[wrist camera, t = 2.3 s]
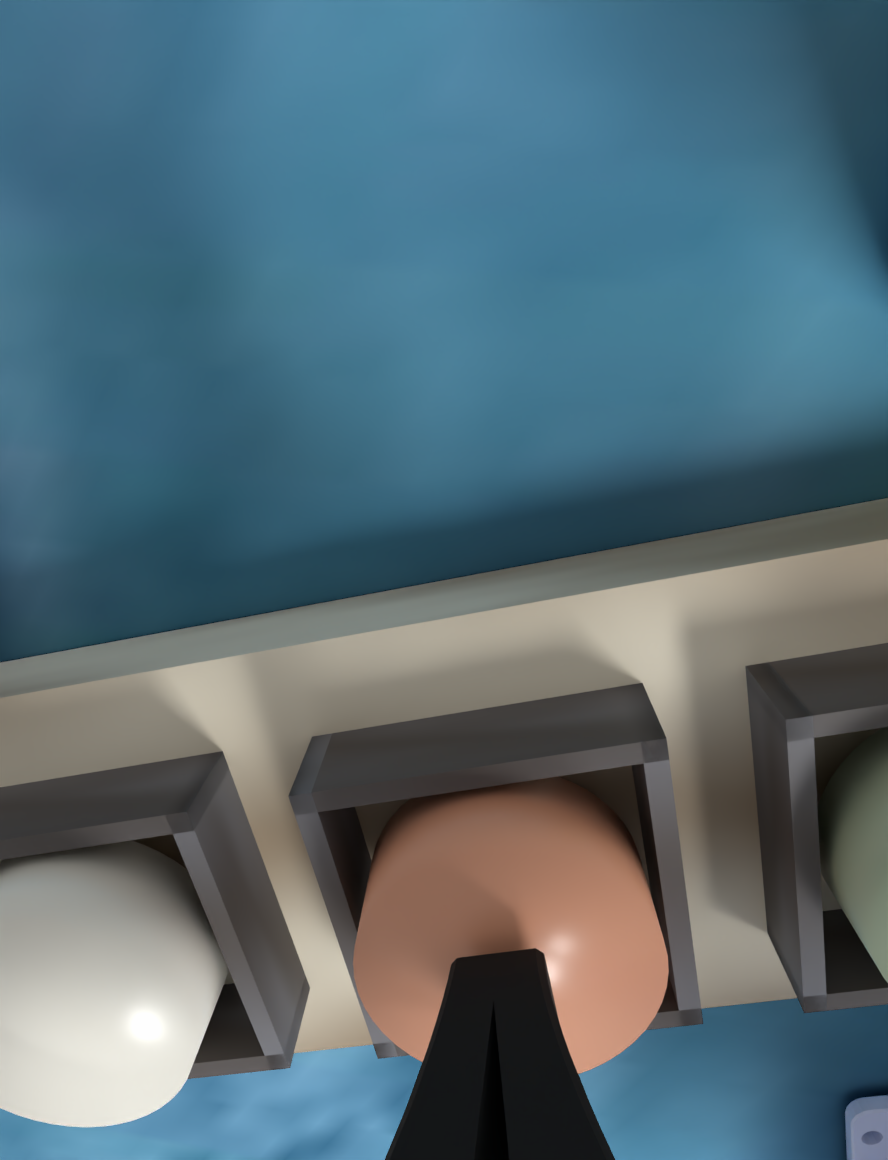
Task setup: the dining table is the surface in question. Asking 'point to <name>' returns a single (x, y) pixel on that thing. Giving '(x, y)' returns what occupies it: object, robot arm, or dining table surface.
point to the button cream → (101, 983)
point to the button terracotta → (512, 911)
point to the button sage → (859, 842)
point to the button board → (484, 757)
